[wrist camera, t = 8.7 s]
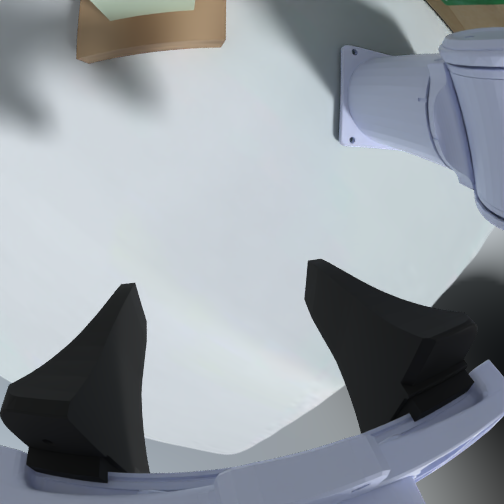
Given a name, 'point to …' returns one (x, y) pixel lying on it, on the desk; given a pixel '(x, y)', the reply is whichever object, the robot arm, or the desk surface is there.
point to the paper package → (470, 13)
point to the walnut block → (149, 31)
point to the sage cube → (140, 7)
